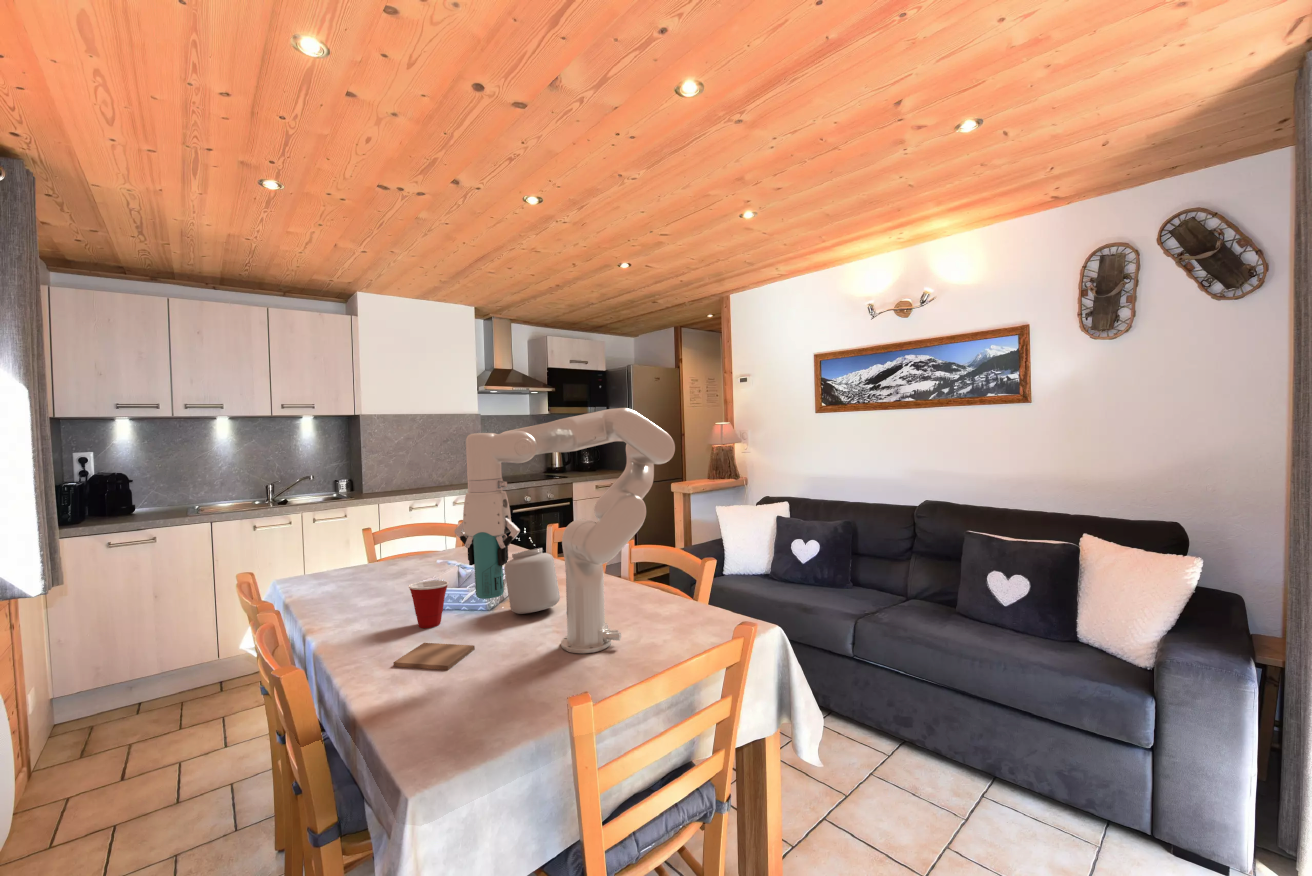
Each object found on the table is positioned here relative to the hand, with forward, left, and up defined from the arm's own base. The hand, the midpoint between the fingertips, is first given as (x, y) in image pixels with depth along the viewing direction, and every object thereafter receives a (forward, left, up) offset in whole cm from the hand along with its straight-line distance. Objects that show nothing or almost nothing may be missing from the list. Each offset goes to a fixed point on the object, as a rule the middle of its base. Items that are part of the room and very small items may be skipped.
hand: (488, 563), depth 129 cm
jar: (+7, -39, -24) cm, 47 cm away
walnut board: (+16, -3, -24) cm, 29 cm away
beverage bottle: (0, 0, -9) cm, 9 cm away
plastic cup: (+31, -24, -24) cm, 46 cm away
